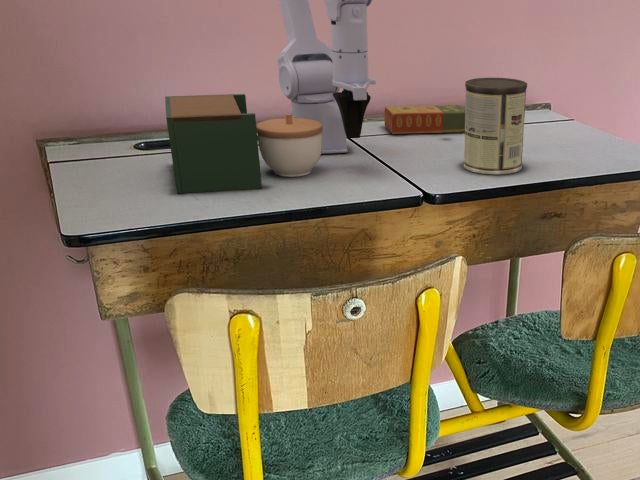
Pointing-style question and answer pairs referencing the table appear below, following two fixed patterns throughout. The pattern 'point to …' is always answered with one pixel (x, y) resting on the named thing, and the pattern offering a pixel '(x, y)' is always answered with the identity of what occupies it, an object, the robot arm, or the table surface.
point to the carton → (425, 119)
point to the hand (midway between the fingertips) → (353, 137)
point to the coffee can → (494, 125)
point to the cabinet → (213, 143)
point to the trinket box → (290, 144)
